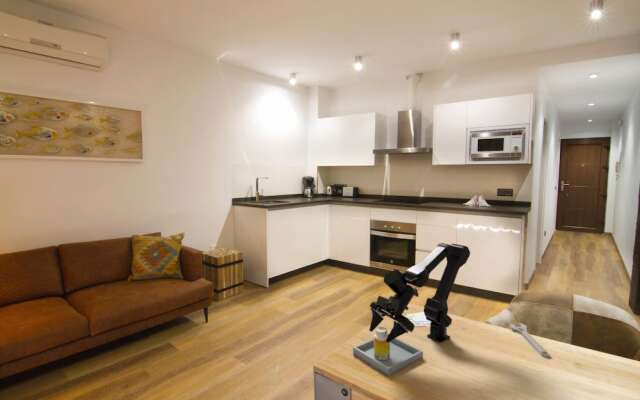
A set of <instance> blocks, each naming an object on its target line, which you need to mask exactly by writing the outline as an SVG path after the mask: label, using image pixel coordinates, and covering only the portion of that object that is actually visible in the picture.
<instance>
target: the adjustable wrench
mask: <svg viewBox="0 0 640 400" xmlns="http://www.w3.org/2000/svg"><path fill="white" fill-rule="evenodd" d="M509 324H510V326H509V328H510V330H511V331H512V332H514V333H517V334H519V335H520V336H522V337H523V338H524V340H526V341H527V342H528V344H529V345H531V347H532V348H533V349H534V350H535V351H536V352H537V353H538V354H539V355H540V356H541V357H543V358H546V359H547V358H550V352H549V351H547V350H546V348H545V347H543V346H542V345H541V344H540V343H539V342H538V341H537V340H536V339H535V338H534V337H533V336H532V335H531V334H530V333H529V332H528V331H527V330H528V326H527V325H526V324H524V323H521V322H516V325H515V324H513V323H509Z"/></svg>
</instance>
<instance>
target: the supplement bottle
mask: <svg viewBox="0 0 640 400" xmlns="http://www.w3.org/2000/svg"><path fill="white" fill-rule="evenodd" d="M388 335H389V333H388V329H387V327H383V326H377V327H376V328H375V333H374V334H373V339H374V356H375V358H376V359H378V360H387V359H389V357H390V342H386V339H387V337H388Z"/></svg>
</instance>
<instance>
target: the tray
mask: <svg viewBox="0 0 640 400" xmlns="http://www.w3.org/2000/svg"><path fill="white" fill-rule="evenodd" d="M352 354H353V355H355V356H356V357H357V358H359V359H361V360H362V361H363V362H365V363H367V364H369V365H370V366H372V367H373V368H375V369H376V370H379V372H381V373H383V374H385V375H386V376H388V377H389V376H391V375H394V374H395V373H397V372H399V371H400V370H402V369H404V368H408V367H409V366H410V365H412V364H414V363H416V362H418V361H420V360H422V359H423V358H424V351H423V350H421V349H419V348H418V347H415V346H414V345H411V344H409V343H407V342H405V341H403V340H402V339H399V338H398V337H396V338H395V339H393V340H392V341H390V357H389V359H387V360H378V359H376V358H375V356H374V338H372V339H369V340H367V341H365V342H362V343H360V344H358V345H355V346H353V347H352Z"/></svg>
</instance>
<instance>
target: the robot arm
mask: <svg viewBox="0 0 640 400" xmlns="http://www.w3.org/2000/svg"><path fill="white" fill-rule="evenodd" d="M470 256H471V251H470V248H469V247H468V246H466V245H462V244H457V243H451V244H448V243H443V242H441V243H440V242H439V243H438V244H437V246H436V248H435V249H433V250H432V251H431V252H430V254H429V255H427V256H426V257H425V258H424V259H423V260H422V261H421V262H420V263H418V264H416V265H413V266H411V267H409V268H408V269H406V271H405V272H402V273H401V271H400V270H399V269H396V268H394V269H393V270H392V271H389V272H388V273H386V274H385V275H384V277H383V283H384V284H385V285H386V287H388V288H389V290H391V291H392V292H393V293H394V296H393V295H390V296H389V297H386V296H383V295H378V297H377V299H376V301H372V302H371V303H370V304H369V308H370V311H371V314H372V317H371V322H370V324H369V325H370V326H369V329H368V330H369V331H370V333H371V332H373V331H375V330H376V328H378V327H379V325H380V324H381V323H382V322H383V321H384V319H385V318H384V317H385V316H386V317H388V318H389V319H391V320H393V326H392V328H391V330H390V331H389V333H388V334H389V335H388V337H387V339H386V342H390V341H392V340H393V339H395V338H398V337H400V336H402V335H404V334H408V333H409V332H410V333H413V331H414V329H415V324H414V322H412V321H411V320H410V318H408V317H407V316H405V315H403V314H404V312H405V311H409V307H408V305H409V304H410V302H412V301H411V300H412V299H413V298H414V297H417V298H418V297H419V292H418V289H417V288H423V287H424V286H425V284H426V283H427V282H428V280H429V278H430V274H431V273H432V272H433V270H434V269H436V268H437V266H439V265H440V264H441V263H442V262H443V260H446V265H445V268H444V270H443V273H442V275H441V278H440V280H439V283H438V286H437V288H436V290H435V293H434V295H433V296H432V297H427V299H426V301H425V304H424V305H423V314H424V316H425V319H426V320H427V321H429V322H430V323H429V324H430V325H429V326H430V327H429V333H428V334H426V336H427V337H428V338H429V339H433V340H435V341H437V342H439V343H442V342H444V341H447V340H449V339H450V338H451V336H450V335H449V334H447V329H448V328H449V327H450V326H451V325H452V321H453V319H452V318H451V317H450V316H449V315H448V312H449V306H448V299H449V297H450V293H451V291H452V290H453V286H454V283H455V281H456V278H457V275H458V273H459V271H460V268H461V267H462V266H464V265H465V264H466V263H467V261H468V260H469V258H470ZM415 287H416V288H415Z"/></svg>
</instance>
